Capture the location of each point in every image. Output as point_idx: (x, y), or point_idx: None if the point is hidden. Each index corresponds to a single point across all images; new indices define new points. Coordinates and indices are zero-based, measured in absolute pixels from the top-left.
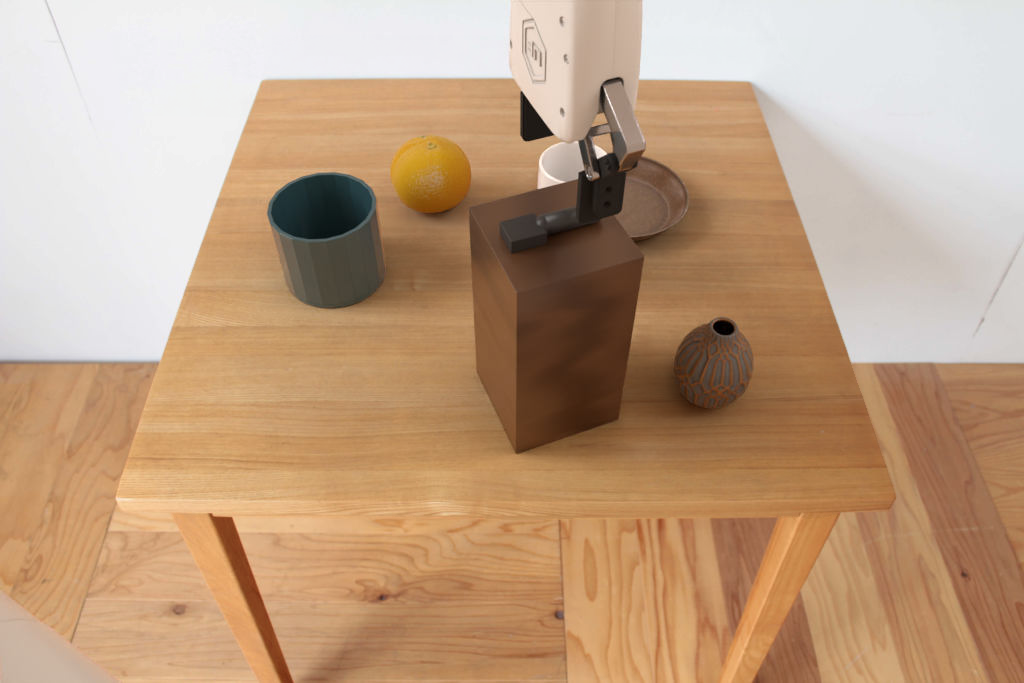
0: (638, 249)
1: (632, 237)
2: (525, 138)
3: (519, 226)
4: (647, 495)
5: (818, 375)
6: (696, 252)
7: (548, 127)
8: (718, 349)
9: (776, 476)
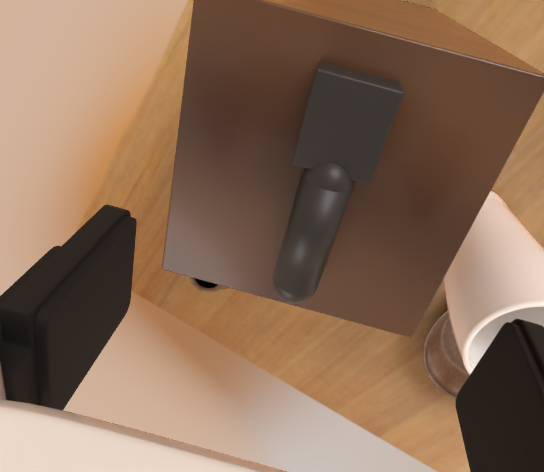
0: (181, 273)
1: (445, 312)
2: (512, 326)
3: (351, 123)
4: (155, 74)
5: (191, 304)
6: (387, 341)
7: (93, 426)
8: None
9: (117, 195)
